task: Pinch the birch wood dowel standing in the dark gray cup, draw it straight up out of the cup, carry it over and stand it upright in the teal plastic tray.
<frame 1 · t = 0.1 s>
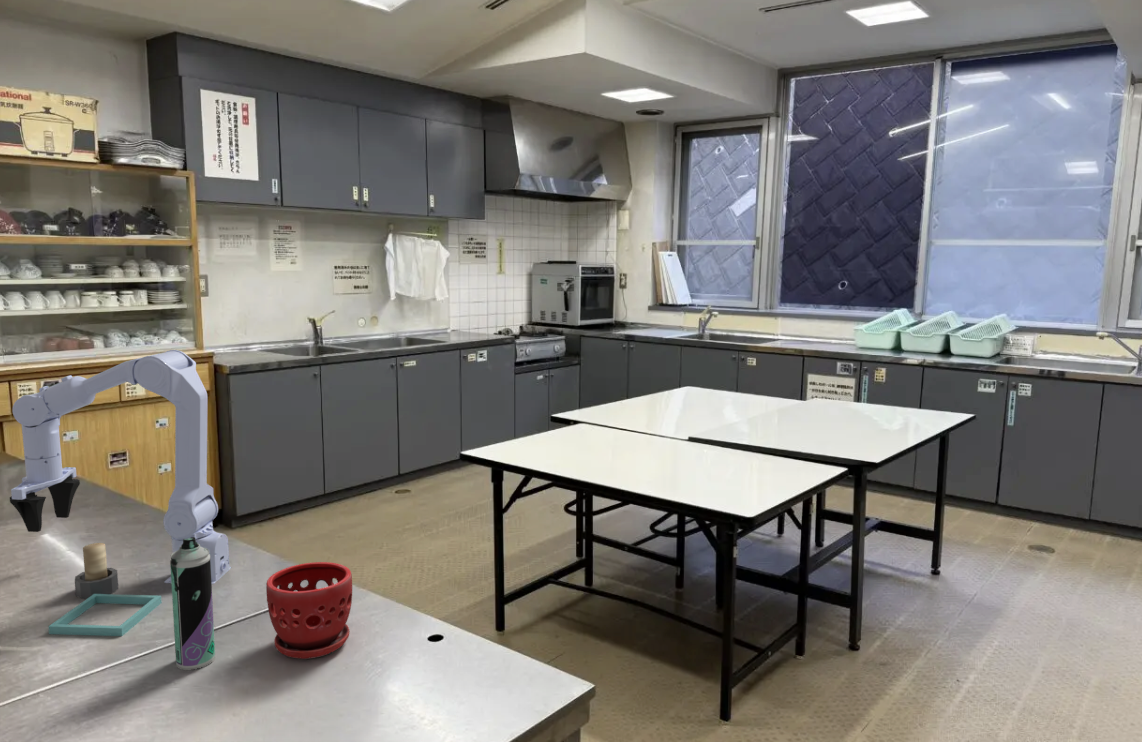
hand: (48, 524, 147), 10 cm above the worktop, tool pointing down, fingers open, 7 cm apart
spray can: (195, 662, 119), on the worktop
teal tray: (108, 620, 131), on the worktop
birch dowel: (97, 590, 141), resting on dark gray cup
plant pot: (311, 645, 125), on the worktop
dark gray cup: (97, 593, 141), on the worktop
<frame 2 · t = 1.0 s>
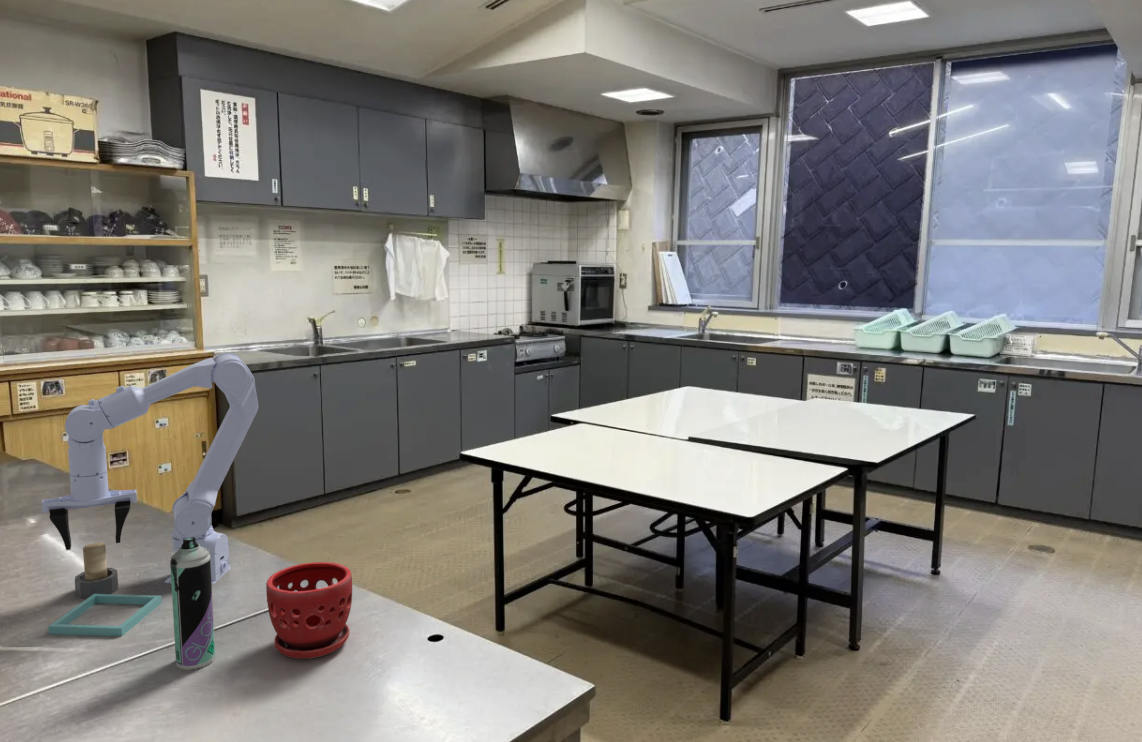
hand: (93, 544, 140), 9 cm above the worktop, tool pointing down, fingers open, 7 cm apart
nothing on the worktop moved.
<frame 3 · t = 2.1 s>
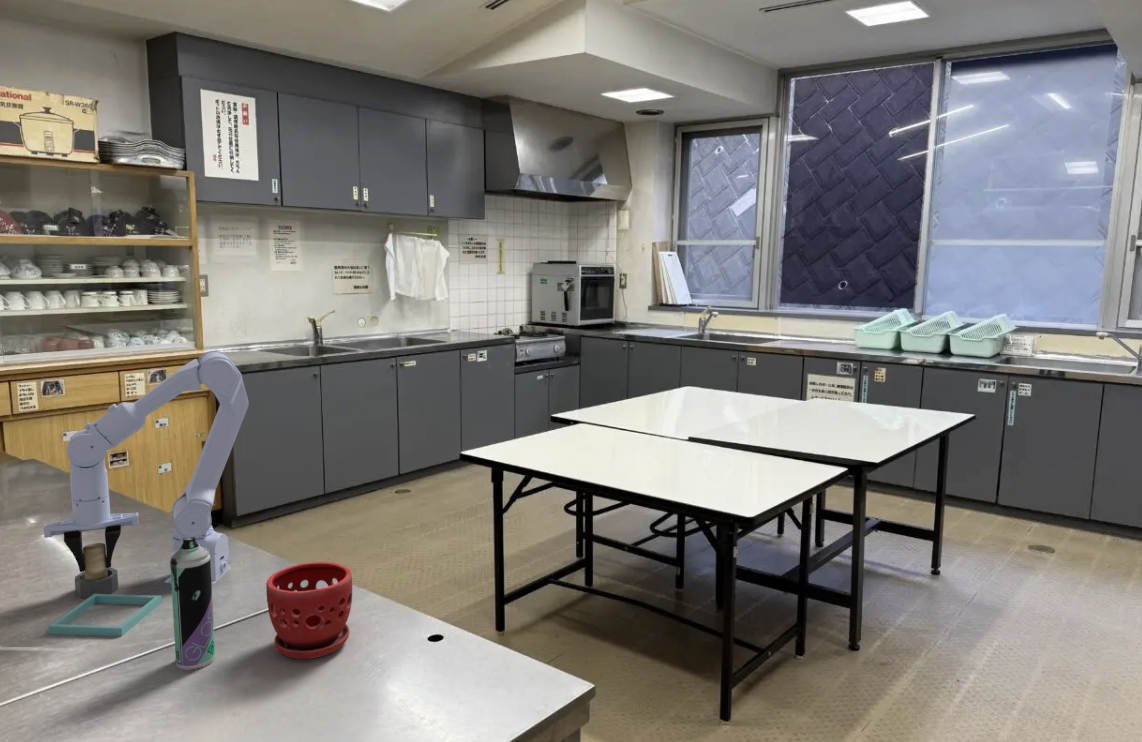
hand: (95, 567, 140), 5 cm above the worktop, tool pointing down, fingers closed on birch dowel, 3 cm apart
birch dowel: (97, 590, 141), resting on dark gray cup, touching gripper
everything else where it was.
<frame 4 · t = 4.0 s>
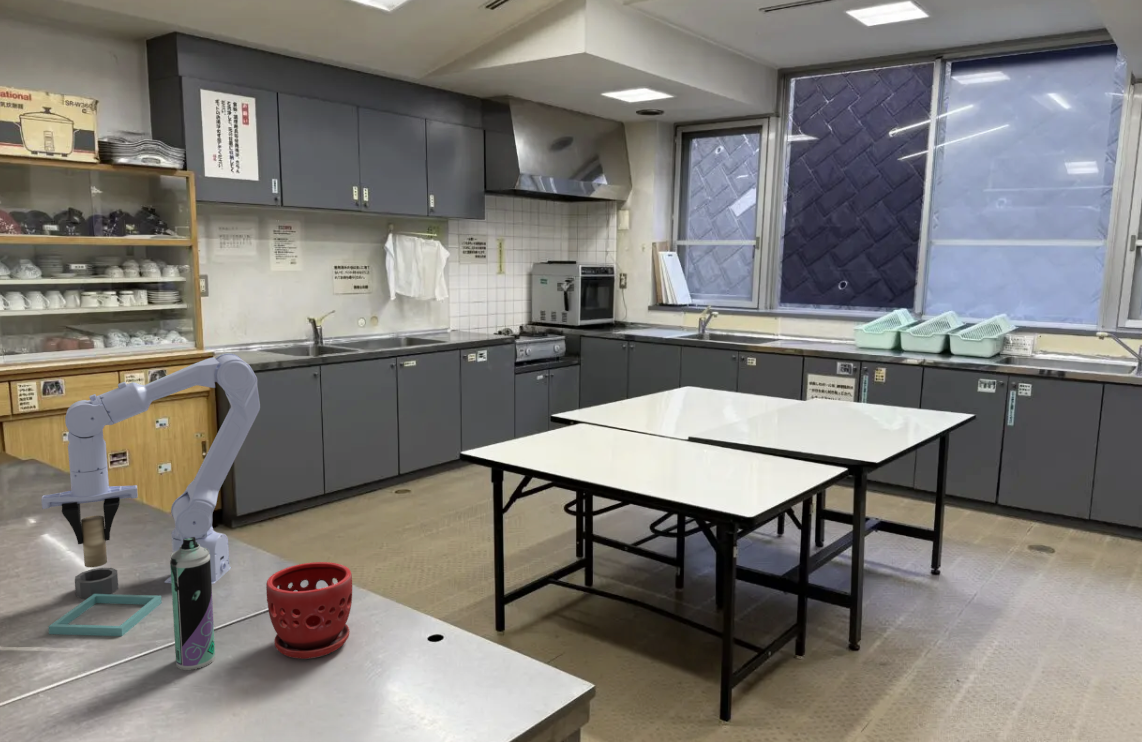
hand: (94, 540, 139), 10 cm above the worktop, tool pointing down, fingers closed on birch dowel, 3 cm apart
birch dowel: (95, 563, 140), point 6 cm above the worktop, touching gripper
everything else where it was.
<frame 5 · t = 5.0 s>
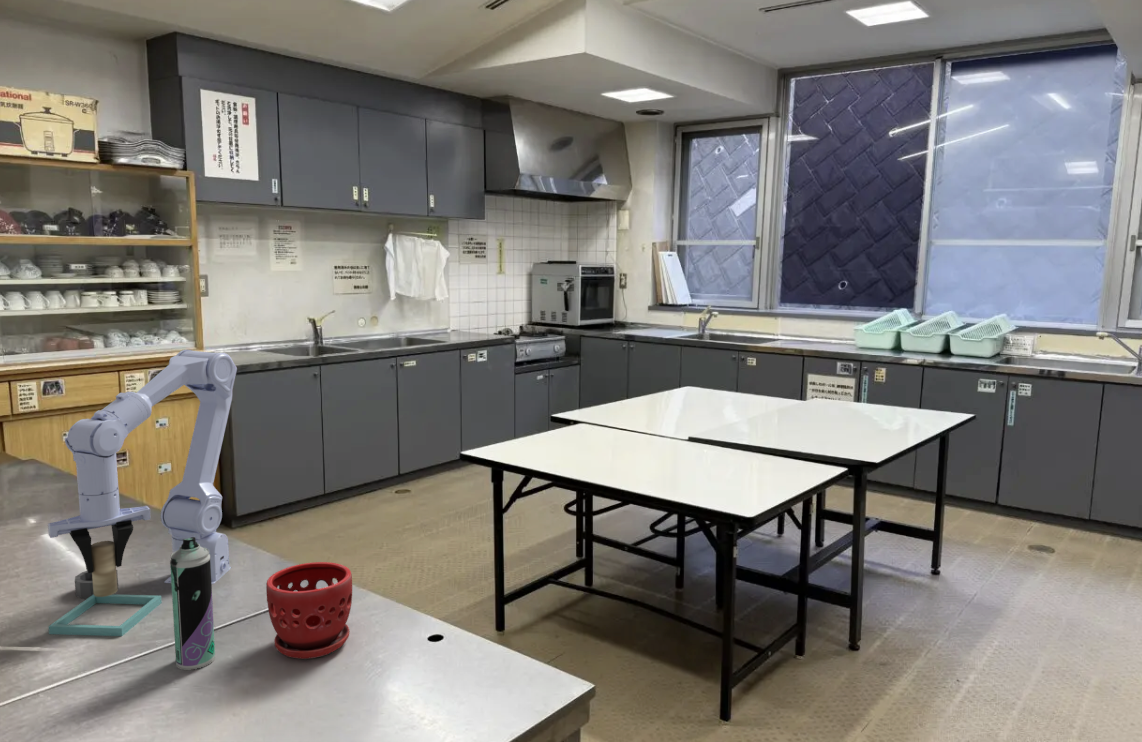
hand: (104, 567, 130), 9 cm above the worktop, tool pointing down, fingers closed on birch dowel, 3 cm apart
birch dowel: (105, 592, 130), point 5 cm above the worktop, touching gripper
everything else where it was.
when the fingers open (6 cm above the worktop, at t = 5.9 s): birch dowel stays where it is, resting on teal tray.
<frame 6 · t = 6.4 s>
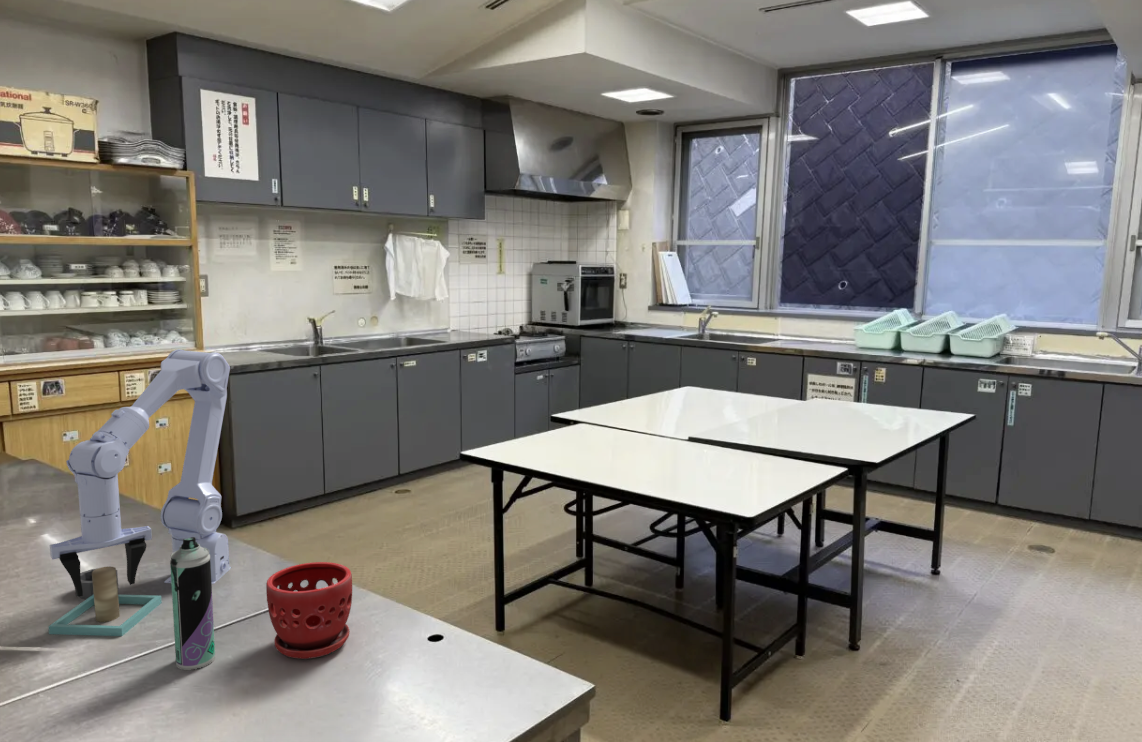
hand: (105, 588, 130), 6 cm above the worktop, tool pointing down, fingers open, 7 cm apart
birch dowel: (107, 617, 131), resting on teal tray
everything else where it was.
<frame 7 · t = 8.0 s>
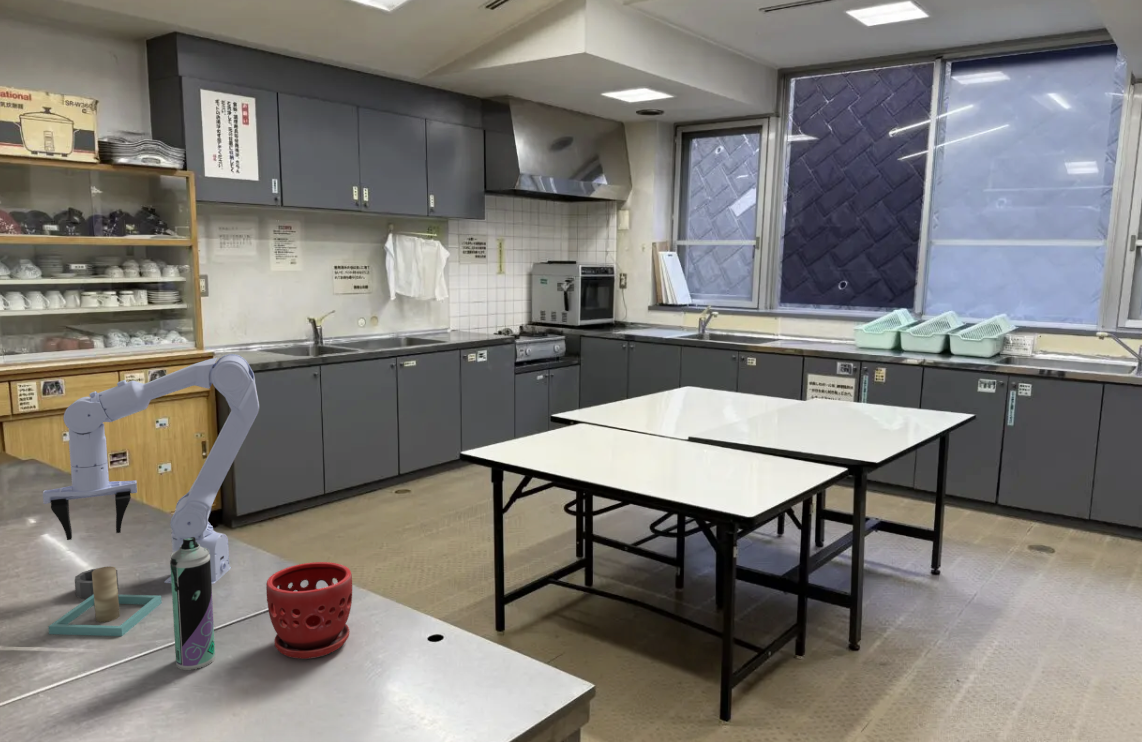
hand: (94, 534, 141), 10 cm above the worktop, tool pointing down, fingers open, 7 cm apart
nothing on the worktop moved.
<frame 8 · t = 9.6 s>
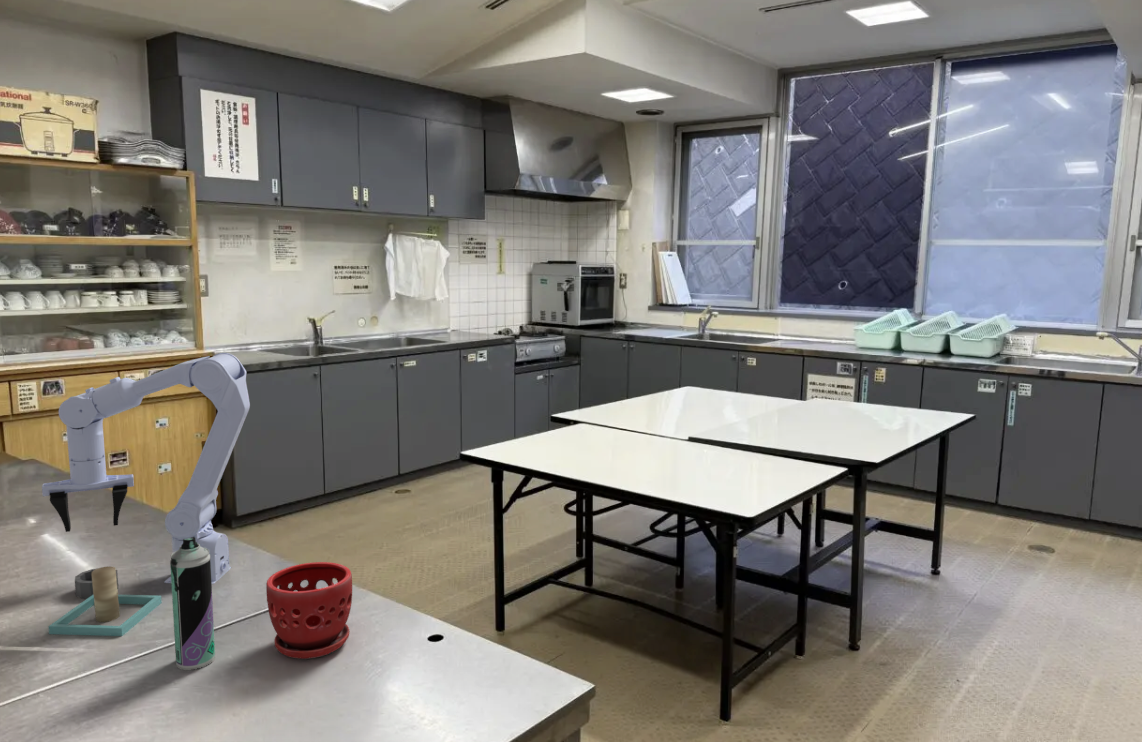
hand: (92, 526, 145), 10 cm above the worktop, tool pointing down, fingers open, 7 cm apart
nothing on the worktop moved.
at the end: birch dowel inside the target area on the teal tray (0.1 cm from its centre), point 0.4 cm above the teal tray's base; birch dowel tilted 1°; the gripper is holding nothing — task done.
